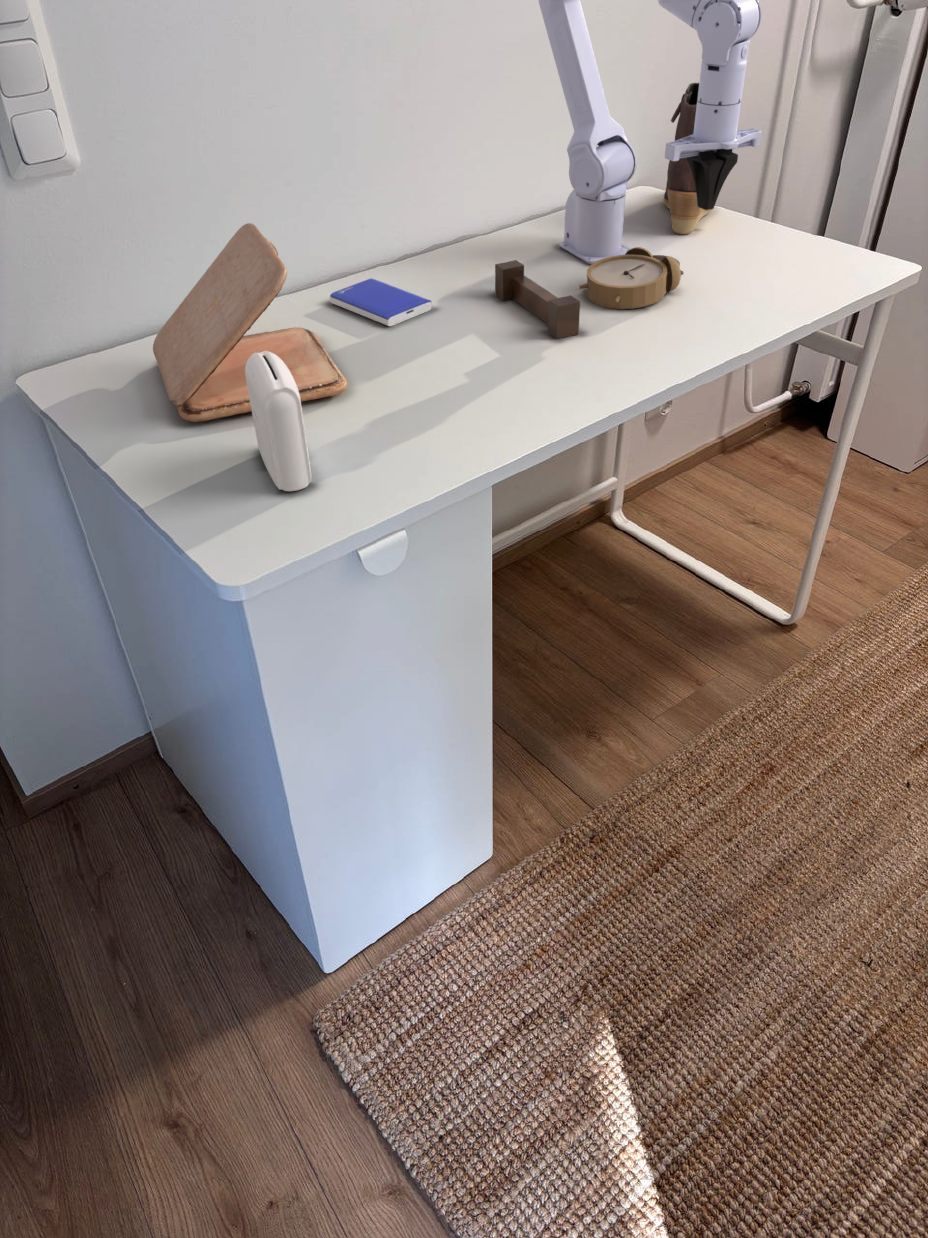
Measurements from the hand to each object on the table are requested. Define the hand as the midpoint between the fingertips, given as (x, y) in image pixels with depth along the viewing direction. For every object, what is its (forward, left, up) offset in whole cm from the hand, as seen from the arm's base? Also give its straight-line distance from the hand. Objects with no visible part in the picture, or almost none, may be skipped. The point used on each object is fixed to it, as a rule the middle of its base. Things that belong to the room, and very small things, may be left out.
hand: (705, 207), depth 138 cm
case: (0, -68, -10) cm, 69 cm away
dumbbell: (0, -27, -10) cm, 28 cm away
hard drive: (-13, -45, -10) cm, 48 cm away
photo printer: (+23, -71, -10) cm, 75 cm away
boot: (-24, +16, -10) cm, 31 cm away
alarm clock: (0, -11, -10) cm, 15 cm away
